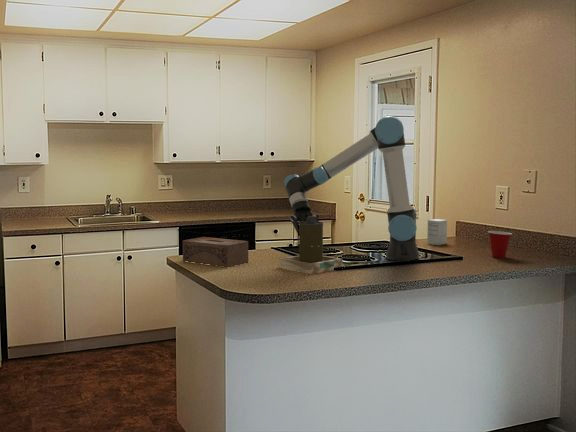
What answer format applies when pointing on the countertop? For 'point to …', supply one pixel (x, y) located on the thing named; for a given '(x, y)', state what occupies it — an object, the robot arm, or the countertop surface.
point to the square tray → (310, 264)
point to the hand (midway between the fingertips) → (314, 248)
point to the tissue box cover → (215, 251)
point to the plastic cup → (499, 243)
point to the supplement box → (437, 232)
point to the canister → (310, 240)
